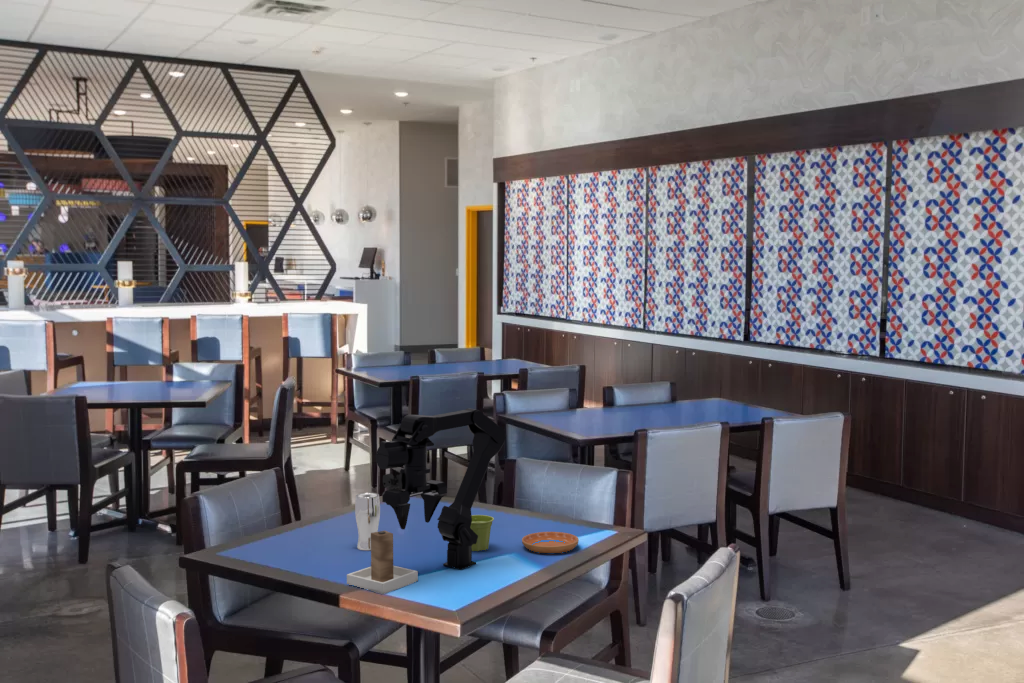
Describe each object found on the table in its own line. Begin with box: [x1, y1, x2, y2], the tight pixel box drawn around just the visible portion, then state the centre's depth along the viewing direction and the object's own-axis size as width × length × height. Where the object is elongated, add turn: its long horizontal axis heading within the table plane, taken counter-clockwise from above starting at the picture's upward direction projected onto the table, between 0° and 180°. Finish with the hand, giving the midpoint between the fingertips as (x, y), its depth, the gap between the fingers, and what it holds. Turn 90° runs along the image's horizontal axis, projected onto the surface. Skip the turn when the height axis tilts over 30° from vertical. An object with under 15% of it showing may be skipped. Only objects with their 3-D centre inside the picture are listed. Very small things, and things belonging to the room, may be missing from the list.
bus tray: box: [346, 564, 419, 595], centre depth 238 cm, size 12×12×3 cm
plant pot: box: [470, 514, 495, 552], centre depth 269 cm, size 9×9×9 cm
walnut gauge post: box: [370, 530, 394, 582], centre depth 238 cm, size 4×4×12 cm
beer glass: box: [354, 492, 381, 551], centre depth 270 cm, size 7×7×15 cm
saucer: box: [521, 531, 580, 554], centre depth 270 cm, size 16×16×3 cm
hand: (415, 525), depth 243 cm, fingers open, 9 cm apart
